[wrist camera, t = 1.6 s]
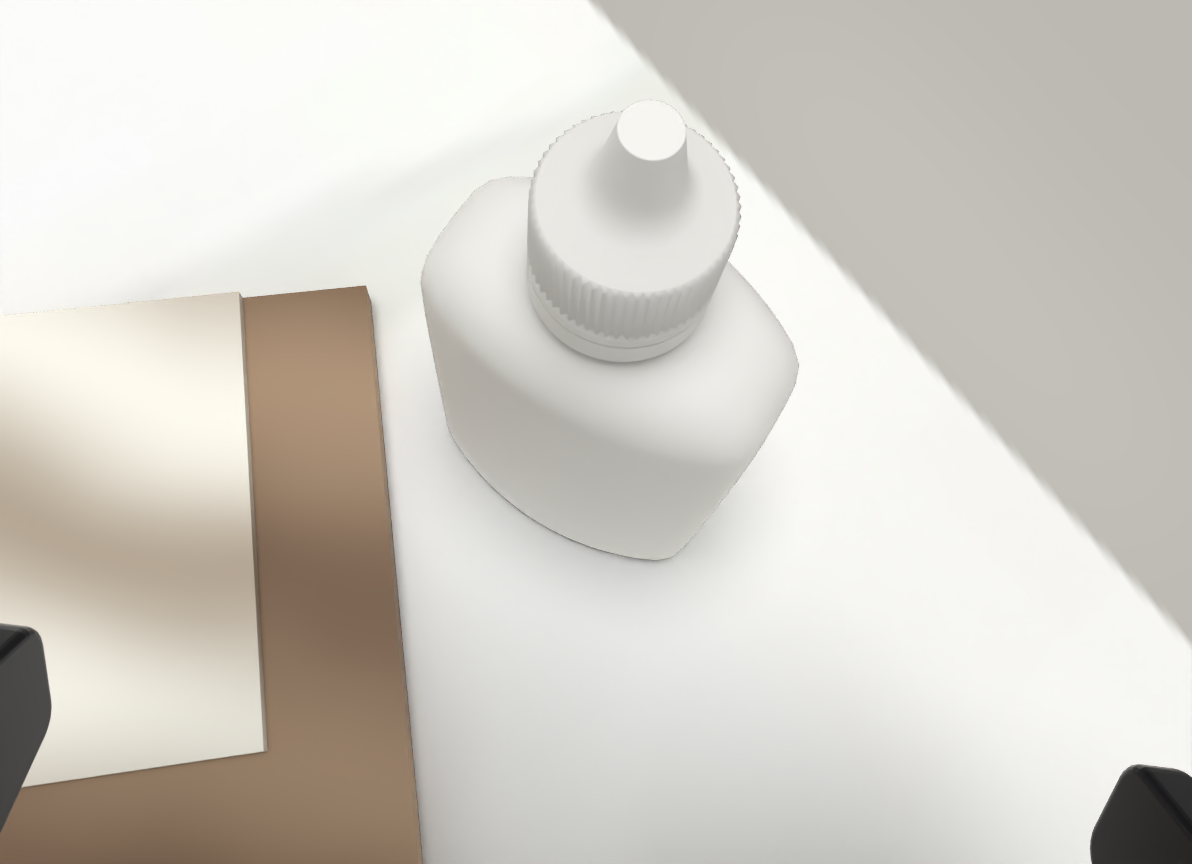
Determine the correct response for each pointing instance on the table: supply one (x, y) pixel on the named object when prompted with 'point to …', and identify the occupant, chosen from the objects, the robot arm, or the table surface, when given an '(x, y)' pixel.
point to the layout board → (206, 583)
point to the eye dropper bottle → (607, 335)
